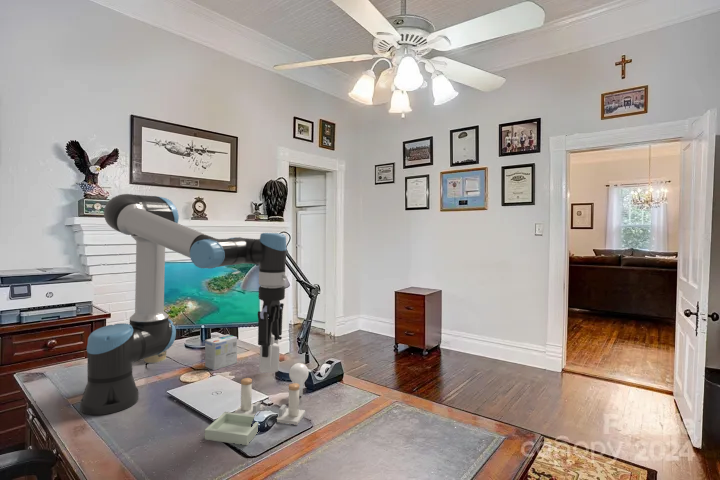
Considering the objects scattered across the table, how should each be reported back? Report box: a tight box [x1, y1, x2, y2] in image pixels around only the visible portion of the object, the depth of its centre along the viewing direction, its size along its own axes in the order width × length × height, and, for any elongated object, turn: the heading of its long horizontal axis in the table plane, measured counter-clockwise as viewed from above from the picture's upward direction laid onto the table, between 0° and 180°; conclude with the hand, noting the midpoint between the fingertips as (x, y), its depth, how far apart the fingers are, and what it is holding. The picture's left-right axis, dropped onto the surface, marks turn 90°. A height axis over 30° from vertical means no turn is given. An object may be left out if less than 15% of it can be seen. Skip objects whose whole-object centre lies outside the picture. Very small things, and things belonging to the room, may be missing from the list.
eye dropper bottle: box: [258, 333, 280, 374], centre depth 115 cm, size 4×6×12 cm
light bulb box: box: [204, 333, 238, 371], centre depth 154 cm, size 11×7×11 cm, turn 144°
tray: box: [204, 411, 259, 446], centre depth 106 cm, size 12×10×3 cm
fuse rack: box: [233, 377, 306, 426], centre depth 116 cm, size 20×7×10 cm, turn 79°
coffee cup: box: [143, 350, 168, 364], centre depth 158 cm, size 9×9×12 cm
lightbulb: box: [288, 362, 310, 398], centre depth 128 cm, size 6×6×11 cm
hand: (269, 364), depth 115 cm, fingers closed on eye dropper bottle, 4 cm apart
